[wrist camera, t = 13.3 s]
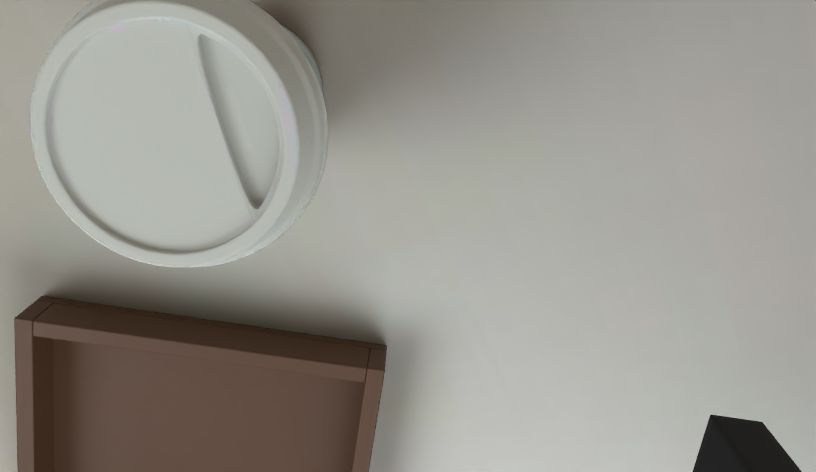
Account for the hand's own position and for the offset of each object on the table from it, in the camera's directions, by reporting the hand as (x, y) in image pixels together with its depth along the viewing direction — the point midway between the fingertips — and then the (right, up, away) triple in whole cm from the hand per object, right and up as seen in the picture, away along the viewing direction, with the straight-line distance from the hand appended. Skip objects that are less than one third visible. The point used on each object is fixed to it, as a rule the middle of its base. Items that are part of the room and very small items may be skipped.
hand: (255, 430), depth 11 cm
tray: (-8, -8, +26) cm, 29 cm away
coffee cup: (-4, +9, +21) cm, 23 cm away
